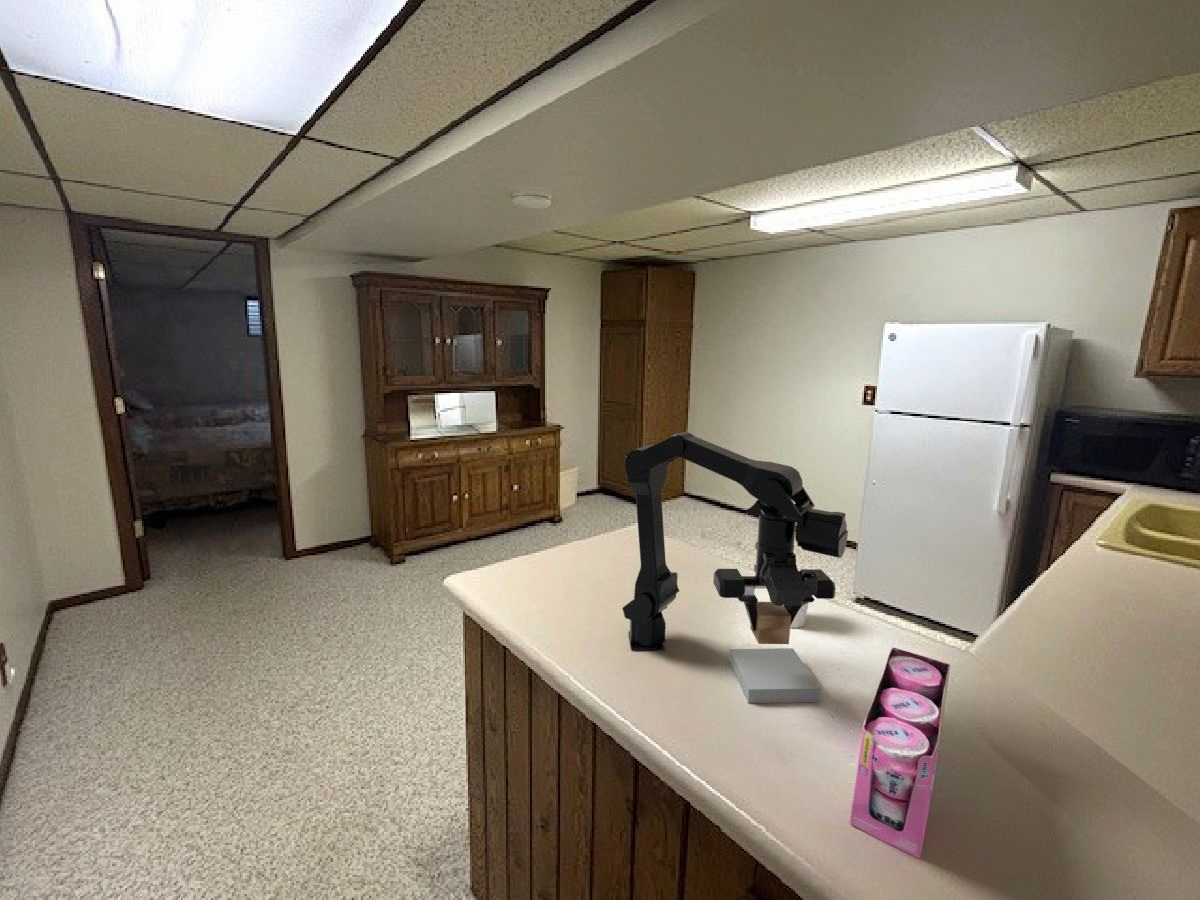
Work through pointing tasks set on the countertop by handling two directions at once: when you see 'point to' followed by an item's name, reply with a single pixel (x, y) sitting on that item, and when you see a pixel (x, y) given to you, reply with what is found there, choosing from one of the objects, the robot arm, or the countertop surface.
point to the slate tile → (773, 676)
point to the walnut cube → (772, 624)
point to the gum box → (901, 751)
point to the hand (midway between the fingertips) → (769, 630)
